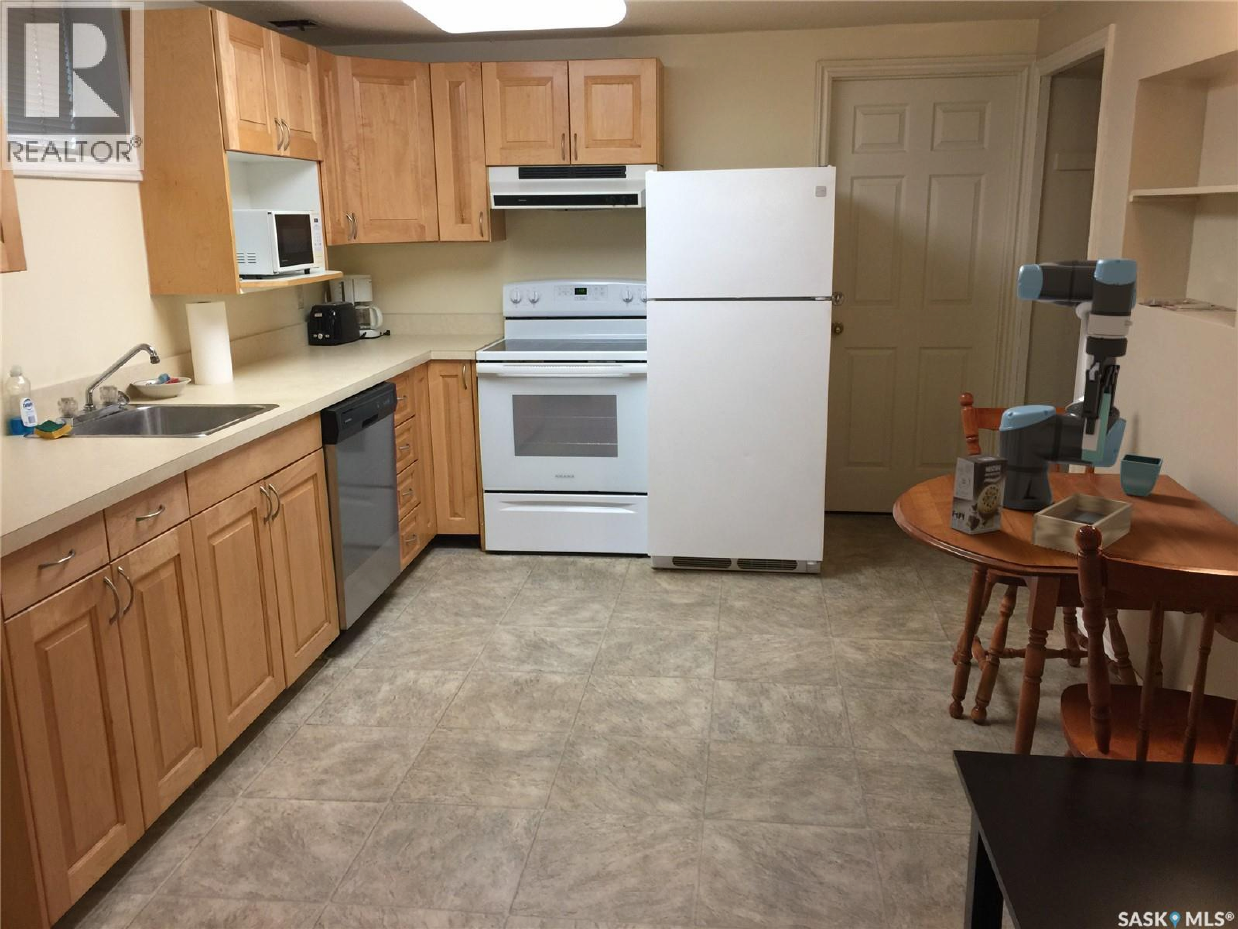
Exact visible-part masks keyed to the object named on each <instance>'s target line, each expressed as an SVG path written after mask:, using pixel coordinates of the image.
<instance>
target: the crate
mask: <svg viewBox="0 0 1238 929" xmlns="http://www.w3.org/2000/svg"><path fill="white" fill-rule="evenodd" d="M1133 508H1134V503H1132V502H1127V501H1121V500H1115V499H1111V498H1105V497H1101V496H1095V495H1091V494H1090V495H1089V494H1084V493H1079V492H1076V493H1073V494H1071V495H1069V496H1068V497H1066V498H1063V499H1062V500H1060V501H1058V502H1056V503H1053V504H1052V506H1050V507H1048V508H1046V509H1042V510H1039V512H1036V513H1034V514H1033V521H1032V530H1031V536H1030V537H1031V538H1030V545H1032V544H1033V545H1032V546H1036V545H1038V547H1041V546H1042V547H1041V548H1045V547H1046V548H1045V549H1049V548H1054V549H1059V550H1063V551H1070V552H1071V553H1074V554H1073V555H1075V554H1076V556H1078V555H1077V547H1076V544H1075V541H1074V535H1075V533H1076V531H1077V530H1078V528H1079V527H1082V526H1086V525H1088V526H1092V527H1096V528H1098V529H1099V530H1100V531H1101V533H1102V539H1103V541H1102V547H1101V548H1104V549H1106V548H1107V547H1109V546H1111V545H1112V544H1113V543H1115V542H1117V541H1118V540H1119V539H1121V538H1123V537H1124V536H1126V535H1127V534H1128V533H1130V529H1131V522H1132V516H1133V510H1134V509H1133ZM1105 547H1106V548H1105ZM1054 549H1053V550H1054ZM1071 553H1070V554H1071Z"/></svg>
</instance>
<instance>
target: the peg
mask: <svg viewBox="0 0 1238 929" xmlns="http://www.w3.org/2000/svg"><path fill="white" fill-rule="evenodd" d="M1110 400H1111V394H1108V393H1104V394H1103V399H1102V404H1101V409H1100V414H1099V418H1098V419H1100V427H1099V434H1098V442H1097V450H1096V451H1093V450H1086V449H1083V450H1082V458H1081V459H1082V460H1085V461H1090V462H1101V461H1102V460H1103V452H1104V445H1105V438H1106V430H1107V423H1108V415H1109V408H1110Z"/></svg>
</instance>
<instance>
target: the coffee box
mask: <svg viewBox="0 0 1238 929" xmlns="http://www.w3.org/2000/svg"><path fill="white" fill-rule="evenodd" d="M1007 463H1008V459H1005V458H1002V457H998V456H997V455H992V454H988V453H982V454H975V455H968V456H967V455H965V456H958V457H957V461H956V468H955V475H954V476H955V479H954V488H953V496H952V505H951V515H950V523H949V527H950V528H951V529H955V530H957V531H960V532H962V533H964V534H967V535H977V534H983V533H987V532H993V531H994V532H995V531H998V530H1001V523H1002V516H1003V515H1002V514H1003V508H1004V507H1003V497H1004V489H1005V480H1006V471H1007Z"/></svg>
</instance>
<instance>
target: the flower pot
mask: <svg viewBox="0 0 1238 929" xmlns="http://www.w3.org/2000/svg"><path fill="white" fill-rule="evenodd" d="M1119 462H1120V464H1119V465H1120V466H1119V481H1120V486H1121V489H1122V491H1123V493H1124V494H1125V495H1132V496H1137V497H1143V498H1147V497H1149V495H1151V493H1152V492H1153V490H1154V488H1155V486H1156V483H1157V481H1158V479H1159V476H1160V472H1161V469H1162V465H1163V462H1164V458H1162V457H1152V456H1147V455H1138V454H1130V453H1124V454H1123V455H1122V457H1121V459H1120V461H1119Z"/></svg>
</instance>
